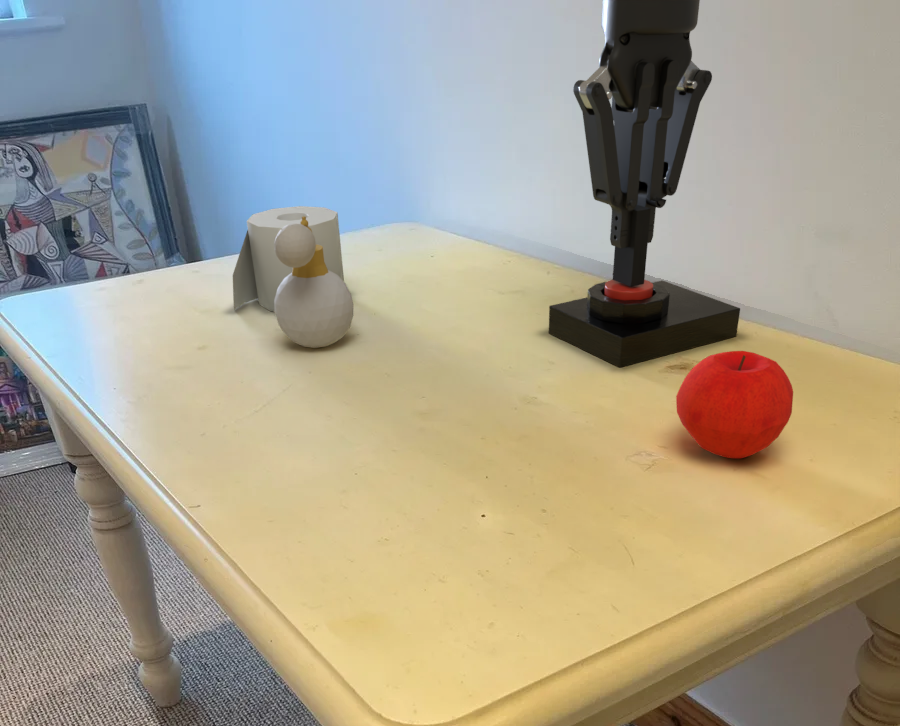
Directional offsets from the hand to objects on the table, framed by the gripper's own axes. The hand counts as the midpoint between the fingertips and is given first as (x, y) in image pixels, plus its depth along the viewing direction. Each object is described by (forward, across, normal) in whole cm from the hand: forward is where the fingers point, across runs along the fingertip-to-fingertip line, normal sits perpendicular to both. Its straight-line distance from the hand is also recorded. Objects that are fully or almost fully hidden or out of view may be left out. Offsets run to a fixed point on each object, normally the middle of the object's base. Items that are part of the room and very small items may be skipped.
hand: (628, 281), depth 86 cm
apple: (+6, +9, +23) cm, 25 cm away
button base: (+5, -2, 0) cm, 6 cm away
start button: (+2, 0, 0) cm, 2 cm away
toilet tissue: (+6, +22, -30) cm, 37 cm away
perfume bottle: (+6, +25, -15) cm, 30 cm away
